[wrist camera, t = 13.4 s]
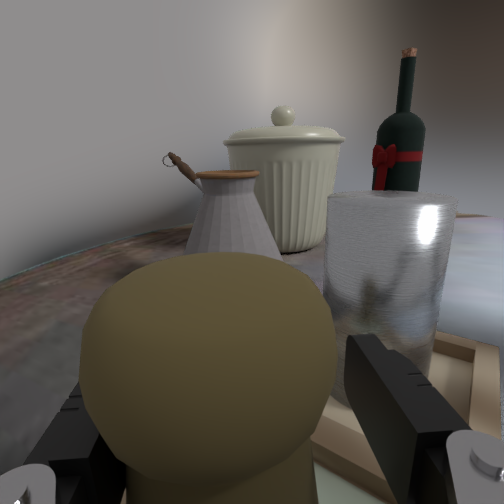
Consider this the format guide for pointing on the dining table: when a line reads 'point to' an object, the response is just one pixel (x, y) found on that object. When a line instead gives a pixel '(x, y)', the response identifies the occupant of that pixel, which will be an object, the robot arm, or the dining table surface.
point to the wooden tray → (357, 447)
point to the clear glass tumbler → (387, 270)
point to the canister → (289, 176)
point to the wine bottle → (400, 138)
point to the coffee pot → (227, 213)
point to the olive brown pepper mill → (211, 379)
